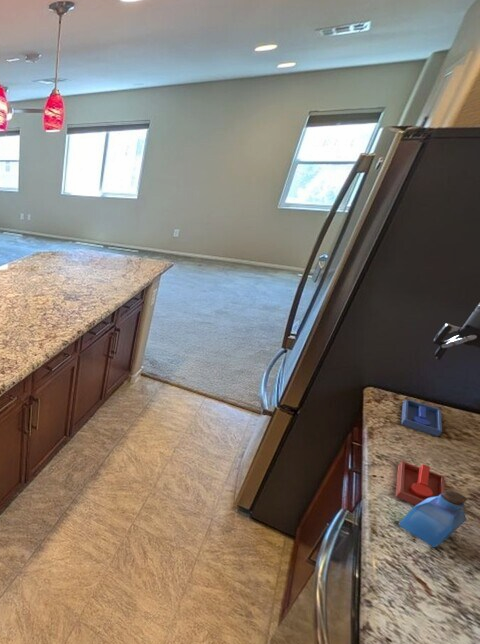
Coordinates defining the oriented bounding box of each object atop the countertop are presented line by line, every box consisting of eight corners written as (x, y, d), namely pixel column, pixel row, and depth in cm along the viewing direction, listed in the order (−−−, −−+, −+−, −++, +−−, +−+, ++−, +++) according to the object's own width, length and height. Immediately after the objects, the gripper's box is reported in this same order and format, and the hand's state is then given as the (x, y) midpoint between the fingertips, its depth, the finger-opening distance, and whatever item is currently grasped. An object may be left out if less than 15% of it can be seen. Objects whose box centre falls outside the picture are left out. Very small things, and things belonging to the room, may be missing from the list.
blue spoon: (412, 407, 124) (414, 403, 123) (428, 412, 122) (431, 408, 121) (411, 423, 117) (414, 419, 117) (428, 429, 115) (431, 425, 114)
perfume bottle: (412, 515, 91) (443, 480, 85) (448, 537, 86) (483, 502, 80) (398, 524, 89) (428, 489, 83) (434, 547, 84) (469, 512, 78)
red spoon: (413, 465, 101) (416, 461, 100) (432, 472, 99) (436, 468, 98) (408, 493, 96) (412, 489, 95) (429, 501, 94) (433, 497, 93)
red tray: (397, 465, 104) (401, 460, 103) (440, 481, 99) (444, 476, 98) (395, 497, 95) (399, 491, 94) (441, 516, 91) (446, 510, 90)
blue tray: (402, 403, 126) (406, 398, 125) (437, 414, 121) (441, 409, 120) (401, 424, 118) (404, 419, 117) (438, 436, 113) (442, 431, 112)
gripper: (538, 315, 100) (496, 367, 108) (456, 301, 109) (423, 350, 117) (543, 324, 95) (499, 378, 103) (458, 309, 104) (423, 359, 112)
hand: (459, 363), depth 110 cm, fingers open, 8 cm apart
